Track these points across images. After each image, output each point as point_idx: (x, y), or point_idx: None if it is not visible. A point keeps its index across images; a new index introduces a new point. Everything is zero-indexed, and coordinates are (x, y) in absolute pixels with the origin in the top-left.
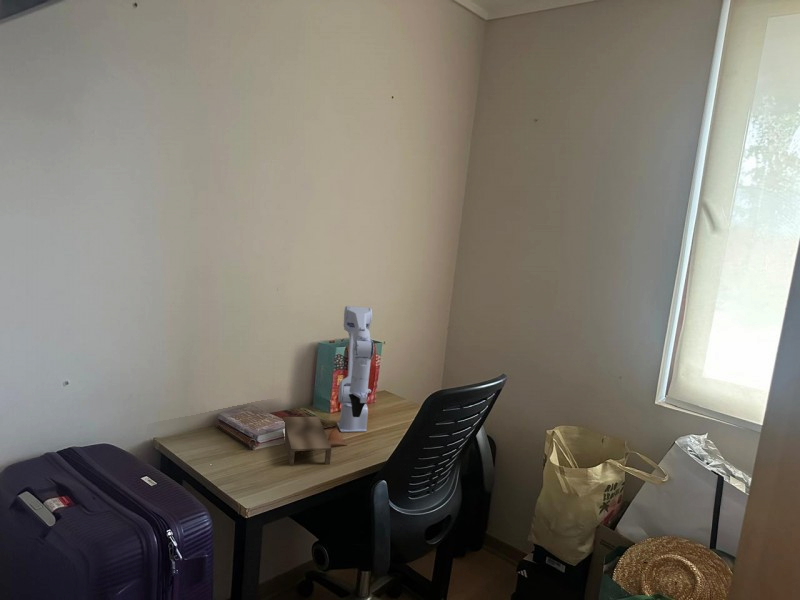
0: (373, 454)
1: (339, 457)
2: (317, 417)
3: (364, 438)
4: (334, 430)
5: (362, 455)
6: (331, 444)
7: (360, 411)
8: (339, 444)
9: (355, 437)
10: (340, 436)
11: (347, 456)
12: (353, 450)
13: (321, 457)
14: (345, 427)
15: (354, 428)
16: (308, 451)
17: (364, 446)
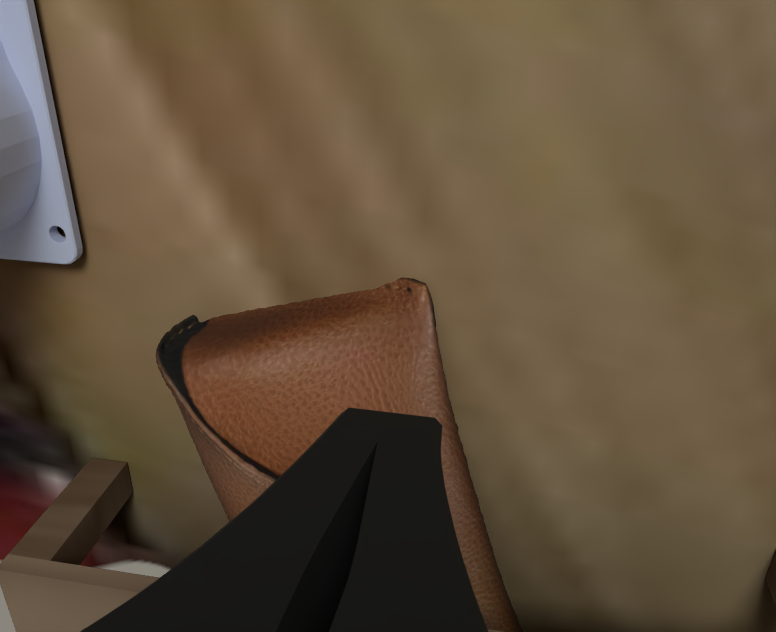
0: (753, 19)
1: (702, 437)
2: (21, 585)
3: (230, 4)
4: (224, 427)
5: (734, 184)
6: (457, 467)
7: (440, 525)
8: (440, 381)
9: (206, 122)
10: (308, 360)
11: (704, 358)
12: (567, 251)
13: (652, 571)
14: (15, 213)
15: (11, 98)
16: (521, 629)
17: (477, 78)
